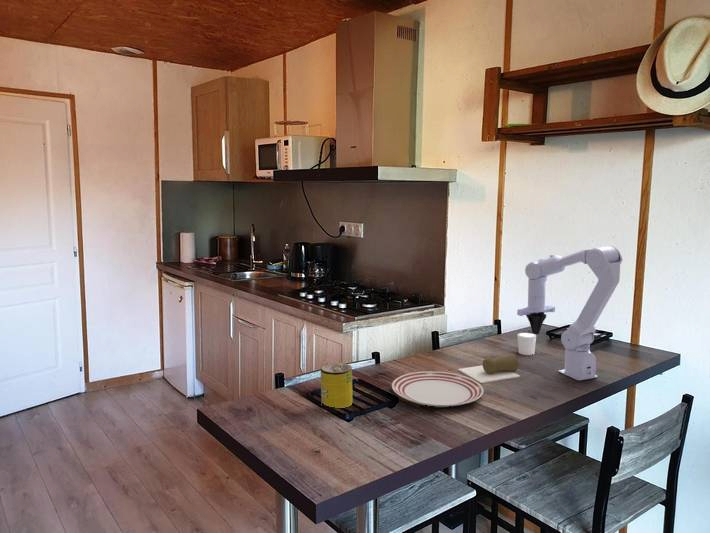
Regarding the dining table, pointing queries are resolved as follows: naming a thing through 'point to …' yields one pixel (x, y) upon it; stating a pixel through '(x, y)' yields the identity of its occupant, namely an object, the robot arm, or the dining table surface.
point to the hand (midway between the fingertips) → (535, 333)
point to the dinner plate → (437, 388)
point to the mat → (483, 377)
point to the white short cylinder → (526, 343)
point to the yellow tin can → (336, 385)
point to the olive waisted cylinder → (501, 364)
